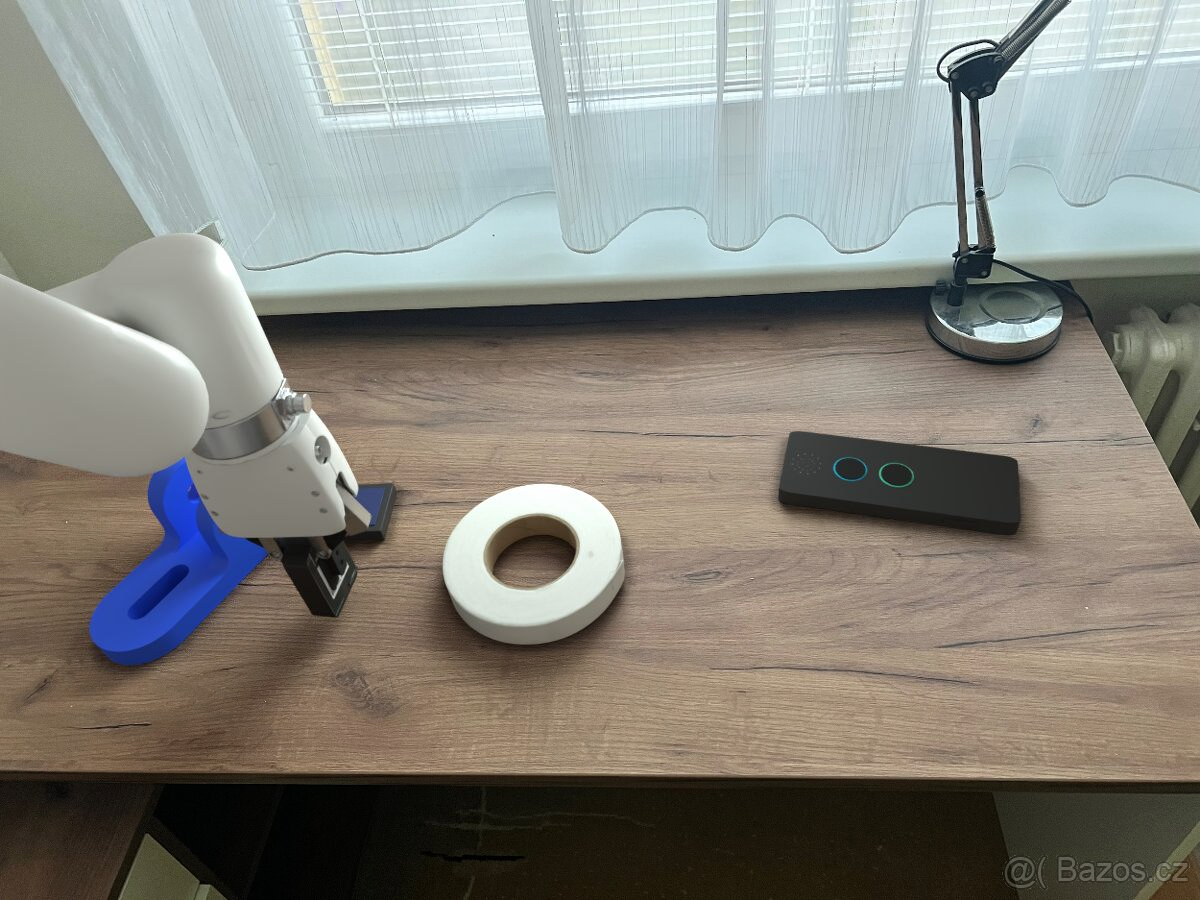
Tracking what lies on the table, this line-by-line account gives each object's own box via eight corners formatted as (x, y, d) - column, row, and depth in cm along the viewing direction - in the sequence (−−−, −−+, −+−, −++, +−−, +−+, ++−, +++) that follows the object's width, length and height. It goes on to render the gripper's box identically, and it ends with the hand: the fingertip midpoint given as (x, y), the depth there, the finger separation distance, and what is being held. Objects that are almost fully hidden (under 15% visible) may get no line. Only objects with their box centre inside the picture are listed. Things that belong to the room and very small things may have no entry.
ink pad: (290, 544, 81) (284, 533, 80) (307, 496, 85) (302, 485, 84) (384, 540, 80) (380, 530, 79) (397, 492, 84) (393, 481, 83)
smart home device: (790, 427, 83) (1018, 454, 78) (789, 440, 84) (1013, 468, 79) (777, 490, 77) (1022, 524, 72) (776, 503, 79) (1017, 538, 73)
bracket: (233, 500, 86) (194, 434, 80) (294, 526, 83) (259, 459, 76) (81, 643, 75) (22, 579, 69) (145, 679, 72) (89, 616, 66)
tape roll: (438, 650, 71) (429, 631, 69) (459, 509, 82) (453, 488, 80) (627, 640, 70) (624, 620, 68) (624, 498, 81) (621, 477, 79)
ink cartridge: (338, 620, 72) (305, 561, 66) (313, 618, 73) (278, 559, 67) (360, 572, 76) (330, 512, 70) (335, 570, 76) (304, 510, 70)
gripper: (362, 372, 61) (423, 539, 74) (151, 381, 63) (247, 543, 76) (333, 446, 56) (405, 613, 69) (104, 454, 58) (216, 615, 71)
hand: (322, 575), depth 72 cm, fingers closed on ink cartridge
